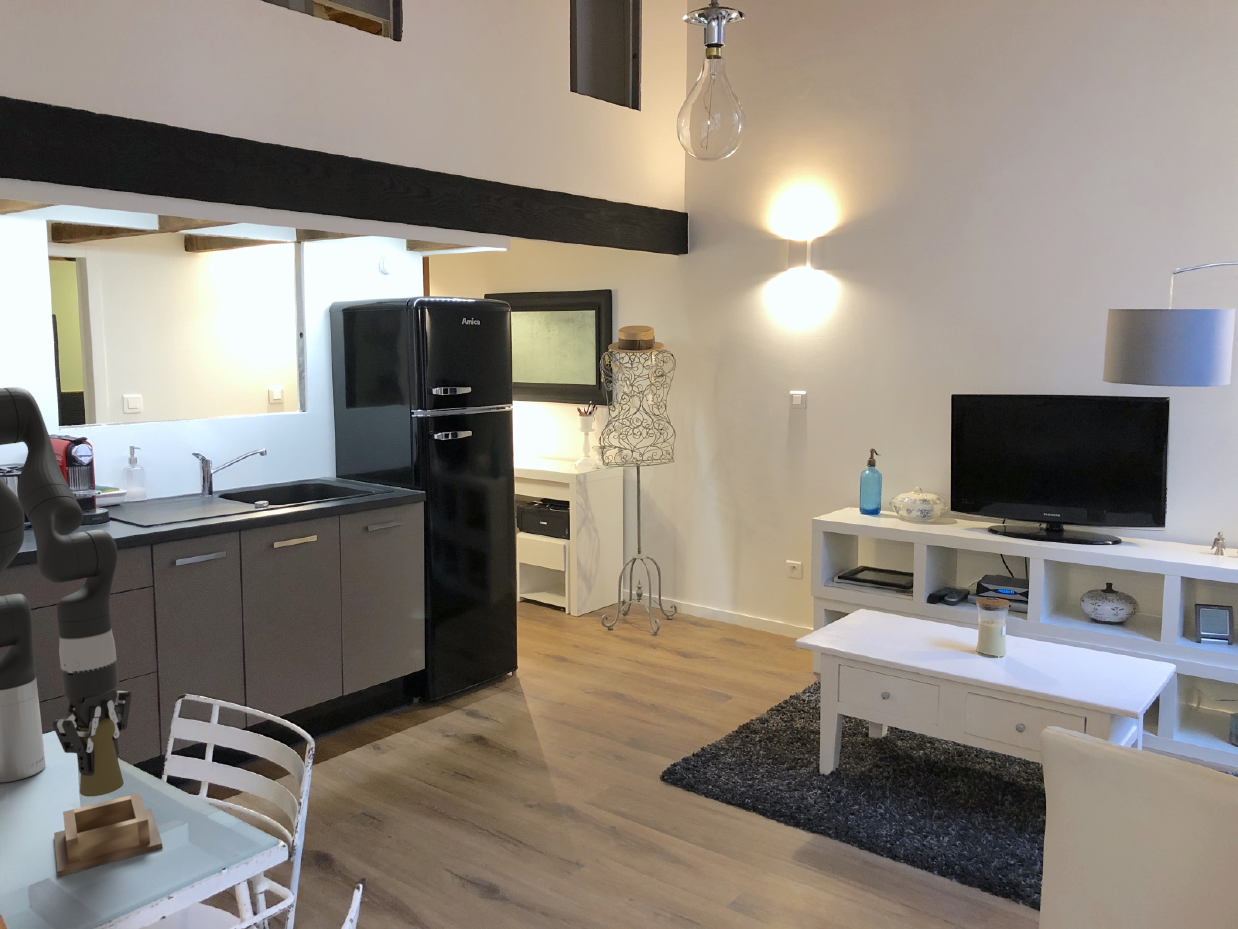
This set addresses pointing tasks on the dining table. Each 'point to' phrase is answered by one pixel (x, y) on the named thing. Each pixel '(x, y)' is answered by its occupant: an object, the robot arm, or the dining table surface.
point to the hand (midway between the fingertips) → (99, 767)
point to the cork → (102, 762)
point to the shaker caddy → (105, 834)
